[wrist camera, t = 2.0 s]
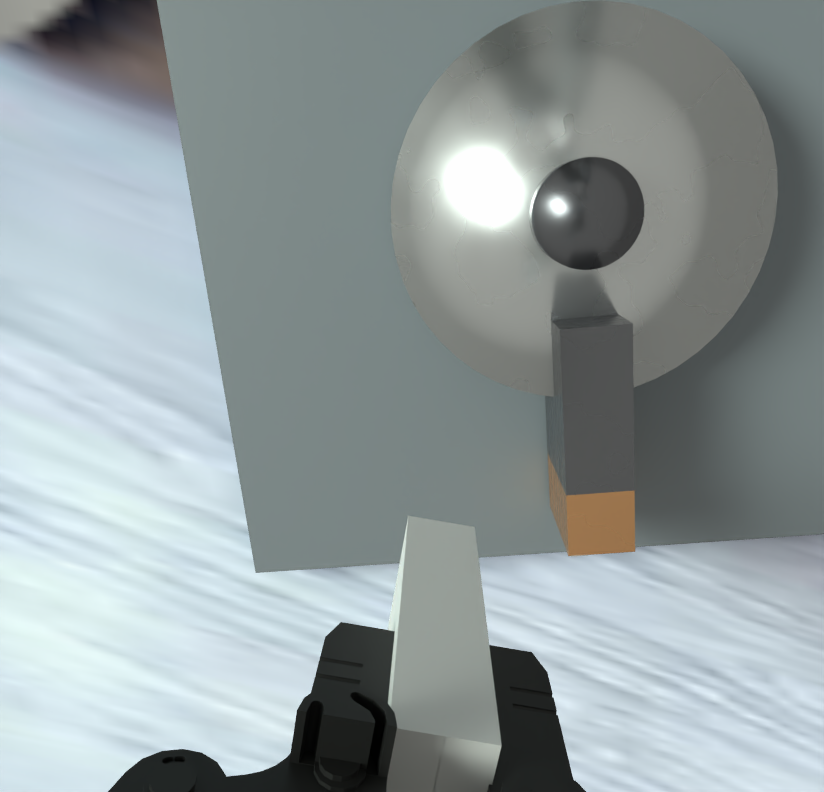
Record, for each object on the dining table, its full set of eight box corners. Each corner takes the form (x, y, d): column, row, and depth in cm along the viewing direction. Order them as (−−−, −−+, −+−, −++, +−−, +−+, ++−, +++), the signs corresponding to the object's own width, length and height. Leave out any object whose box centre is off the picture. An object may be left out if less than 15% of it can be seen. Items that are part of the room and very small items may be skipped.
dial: (377, 41, 21) (364, 9, 17) (754, -2, 20) (819, -44, 17) (423, 515, 25) (421, 566, 21) (737, 492, 24) (787, 541, 21)
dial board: (146, -157, 21) (120, -189, 19) (968, -265, 20) (1019, -310, 18) (265, 555, 28) (254, 579, 26) (892, 511, 26) (924, 534, 24)
